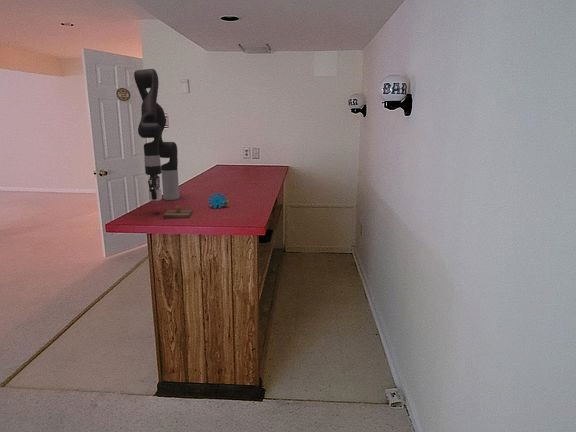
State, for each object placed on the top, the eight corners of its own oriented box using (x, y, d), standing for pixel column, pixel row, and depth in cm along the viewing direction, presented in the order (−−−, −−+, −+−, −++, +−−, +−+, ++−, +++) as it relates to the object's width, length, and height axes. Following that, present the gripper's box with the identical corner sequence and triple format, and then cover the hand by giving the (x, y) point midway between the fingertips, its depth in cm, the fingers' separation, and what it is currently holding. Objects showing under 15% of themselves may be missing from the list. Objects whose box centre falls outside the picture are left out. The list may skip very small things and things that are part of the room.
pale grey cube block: (151, 198, 208) (151, 188, 206) (161, 198, 208) (161, 188, 207) (149, 200, 203) (148, 190, 202) (159, 200, 203) (158, 190, 202)
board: (168, 212, 208) (168, 203, 207) (192, 212, 209) (192, 203, 208) (163, 218, 197) (162, 208, 195) (188, 217, 197) (188, 208, 196)
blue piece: (205, 205, 216) (210, 190, 221) (206, 211, 221) (211, 196, 226) (225, 209, 215) (230, 193, 220) (226, 214, 220) (231, 199, 225)
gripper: (148, 162, 208) (151, 195, 212) (140, 166, 194) (144, 201, 198) (163, 162, 208) (166, 195, 212) (157, 166, 194) (160, 201, 199)
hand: (155, 198), depth 205 cm, fingers closed on pale grey cube block, 5 cm apart
